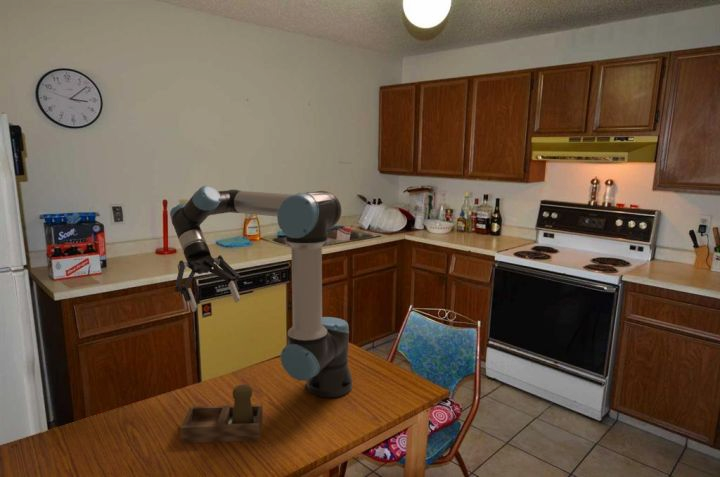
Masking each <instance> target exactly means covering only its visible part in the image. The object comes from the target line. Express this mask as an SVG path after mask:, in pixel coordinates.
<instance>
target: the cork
mask: <svg viewBox="0 0 720 477" xmlns="http://www.w3.org/2000/svg"><path fill="white" fill-rule="evenodd" d="M252 395H253V389H252V387H251V386H250V385H247V384H239V385H236V386H235V387H234V388H233V390H232V398H233V400H234V403H233V405H234V410H233V418H232V424H242V423H254V419H253V412H252V406H251V405H252V401H251V398H252Z"/></svg>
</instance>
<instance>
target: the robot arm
mask: <svg viewBox="0 0 720 477" xmlns="http://www.w3.org/2000/svg"><path fill="white" fill-rule="evenodd" d="M227 213H233V214H247V215H258V216H266V217H267V216H269V217H277V218H276V220H277V224H278V227H279V229H280V230H281V232H282V233H283V234H284V235H285V242H286V243H287V244H288V245H289V246H290V247H291V249H290V250H291V288H292V291H291V292H292V294H291V296H292V326H291V327H290V328H288V331H287V344H286V345H285V346H284V347H283V348H282V350H281V353H280V362H281V365H282V366H281V367H282V368H283V369H284V370H285V372H286V373H287V374H288V375H289V376H290V377H291V378H293V379H295V380H298V381H306V389H307V391H308V392H309V393H310V394H312V395H314V396H316V397H320V398H328V399H329V398H330V399H331V398H338V397H342V396H345V395H347V394H348V393H350V392H351V390H352V389H353V377H352V374H351V370H350V368H349V364H348V363H349V359H348V358H349V340H350V339H349V336H350V331H349V327H350V326H349V324H348V322H347V321H346V320H344V319H342V318H340V317H339V318H338V317H332V316H323V263H322V262H323V246H324V245H325V244H326V243H327V242H328V230H330V229H332V228H333V227H334V226H335V225H337V223H338V222H339V221H340V219H341V216H342V206H341V202H340V200H339V199H338V198H337V196H336V195H334V194H333V193H332V192H329V191H325V190H320V191H319V190H318V191H305V192H298V193H295V194H294V193H293V194H292V193H278V192H264V191H263V192H262V191H261V192H260V191H247V190H246V191H245V190H241V189H229V190H219V191H218V190H217V189H216V188H215V187H212V186H209V185H202V186H201V187H199V188H198V190H196V191H195V192H194V193H193V195H192V196H191V197H190V199H189V200H188V201H187V202H186V203H179V204H177V205H176V206H174V207H172V209H171V210H169V216H170V219H171V224H172V226H173V228H174V232H175V233H176V237H177V238H178V242H179V245H180V247H181V249H182V251H183V255H184V258H185V260H186V261H184V260H182V259H181V260H180V261H179V262H178V264H177V269H178V272H177V277H176V282H175V286H174V292H175V293H179V292H180V294H181V295H183V298H184V300H185V302H188V303H189V307H190V309H191V311H192V313H194V312H196V311H197V309H198V305H197V301H196V299H195V296H194V294H193V291H192V289H191V287H189V285H190V284H191V282H192V280H193V278H194V277H195V275H196V274H198V275H201V274H208V273H210V274H214V275H215V276H217V277H218V278H220V279H222V280H224V281H225V282H227V283H228V285H227V286H228V289H229V290H230V294H231V296H232V298H233V301H234V302H235V304H236V303H238V302H239V301H240V299H241V297H240V294H239V290H240V289H239V285H238V281H239V279H240V278H241V275H240V274H239V273H238V272H237V271H236V270H235V269H234V268H233V267H232V266H231V265H230V264H228V263H227V262H226V260H225V259H224V257H223V256H222V255H218V256H217V257H212V255H211V251H210V249H209V246H208V244H207V241H206V238H205V235H204V233H203V231H202V229H201V224H202V223H204V221H205V220H206V219H207V218H208V217H209V216H214V215H219V214H220V215H221V214H227ZM186 268H188V269H189V270H191V271H190V273H189V275H188V277H187V279H186V280H185V282H184V284H183V285H182V281H183V278H184V272H185V270H186Z"/></svg>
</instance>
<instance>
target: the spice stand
mask: <svg viewBox="0 0 720 477" xmlns="http://www.w3.org/2000/svg"><path fill="white" fill-rule="evenodd" d="M251 406H252V412H253V419H254V423H242V424H232V418H233V410H234V404H232V405H199V406H195V405H194V406H190V407H189V409H188V411H187V412H186V415H185V417H184V420H182V424H181V426H180V428H179V429H180V444H199V443H203V444H205V443H224V442H226V443H227V442H228V443H229V442H248V441H249V442H250V441H252V442H253V441H255V442H256V441H260V437H261V432H262V425H263V421H264V420H263V419H264V416H263V415H264V414H263V413H264V410H263V403H262V404H261V403H260V404H251Z"/></svg>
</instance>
